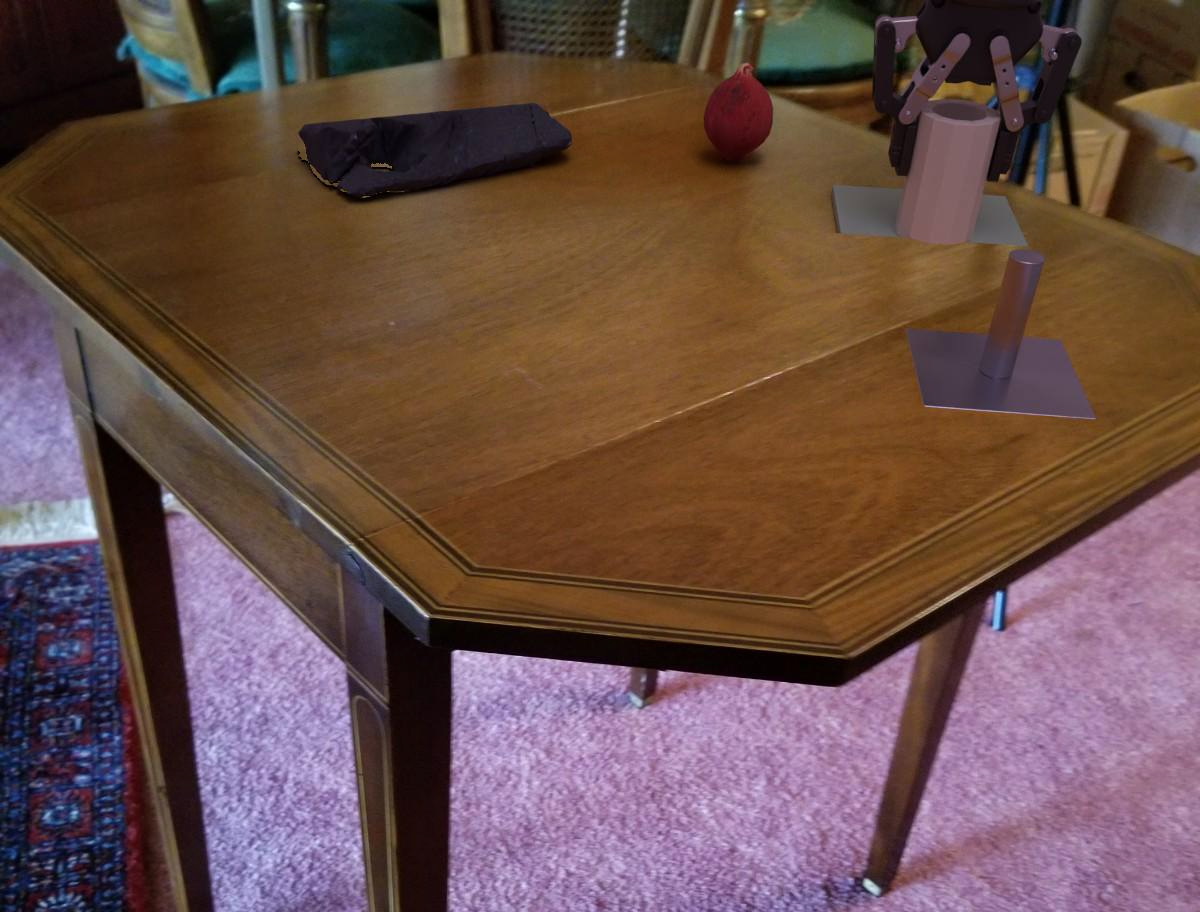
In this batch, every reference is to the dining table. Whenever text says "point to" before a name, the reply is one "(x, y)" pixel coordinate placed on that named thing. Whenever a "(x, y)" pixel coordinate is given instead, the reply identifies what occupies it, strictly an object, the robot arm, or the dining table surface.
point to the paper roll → (947, 171)
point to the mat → (880, 206)
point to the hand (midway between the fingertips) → (945, 174)
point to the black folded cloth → (431, 146)
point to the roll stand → (1000, 358)
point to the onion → (738, 115)
